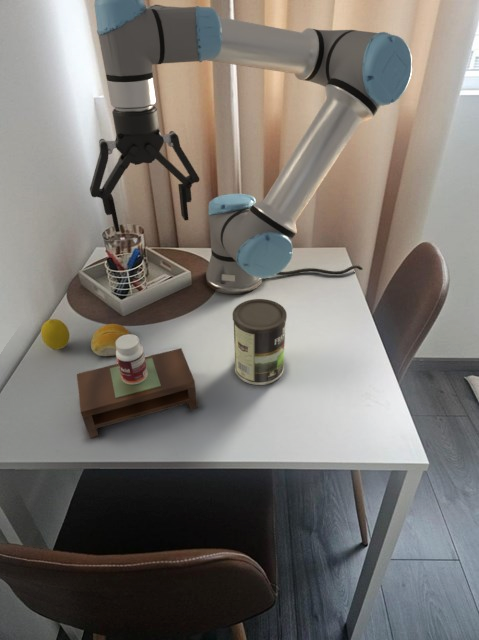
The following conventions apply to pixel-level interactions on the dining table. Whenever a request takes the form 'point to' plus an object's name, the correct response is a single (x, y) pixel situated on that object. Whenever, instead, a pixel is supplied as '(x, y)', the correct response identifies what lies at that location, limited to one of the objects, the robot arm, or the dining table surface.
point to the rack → (135, 391)
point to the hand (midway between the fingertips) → (151, 223)
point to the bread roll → (107, 339)
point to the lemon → (55, 334)
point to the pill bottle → (131, 359)
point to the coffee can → (259, 341)
